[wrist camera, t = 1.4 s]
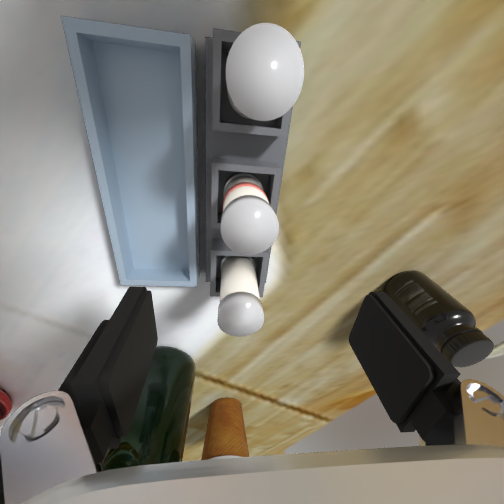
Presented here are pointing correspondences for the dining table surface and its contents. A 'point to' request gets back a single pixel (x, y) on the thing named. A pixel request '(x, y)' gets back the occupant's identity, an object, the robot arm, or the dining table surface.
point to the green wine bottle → (158, 414)
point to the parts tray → (142, 144)
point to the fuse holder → (236, 156)
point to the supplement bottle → (440, 318)
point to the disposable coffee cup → (225, 431)
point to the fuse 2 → (264, 72)
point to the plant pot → (4, 404)
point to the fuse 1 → (239, 297)
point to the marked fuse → (247, 215)
